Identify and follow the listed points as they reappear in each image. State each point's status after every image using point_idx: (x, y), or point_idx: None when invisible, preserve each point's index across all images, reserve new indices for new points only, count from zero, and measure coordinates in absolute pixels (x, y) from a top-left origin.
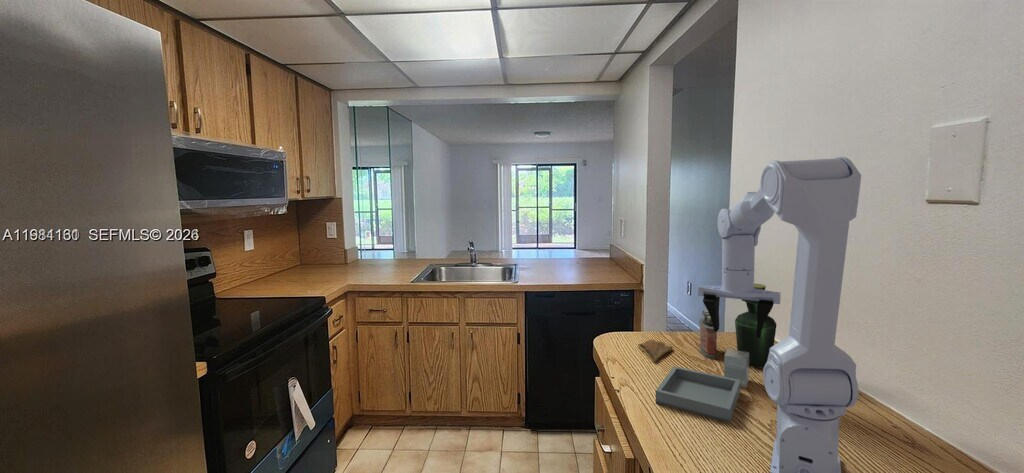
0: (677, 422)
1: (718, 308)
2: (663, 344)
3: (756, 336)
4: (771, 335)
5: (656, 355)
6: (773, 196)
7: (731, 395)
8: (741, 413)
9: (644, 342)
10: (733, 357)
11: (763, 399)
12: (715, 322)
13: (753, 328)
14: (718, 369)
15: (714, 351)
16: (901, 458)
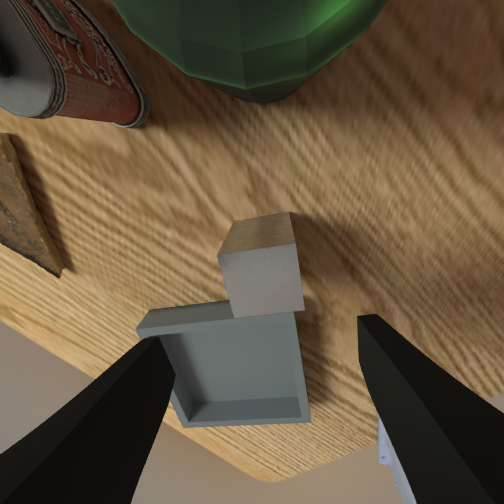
0: (244, 426)
1: (53, 481)
2: None
3: (361, 366)
4: None
5: (40, 249)
6: None
7: (298, 382)
8: (316, 363)
9: None
10: (262, 312)
11: (341, 294)
12: (150, 440)
13: (280, 81)
14: (198, 197)
15: (130, 109)
16: None
